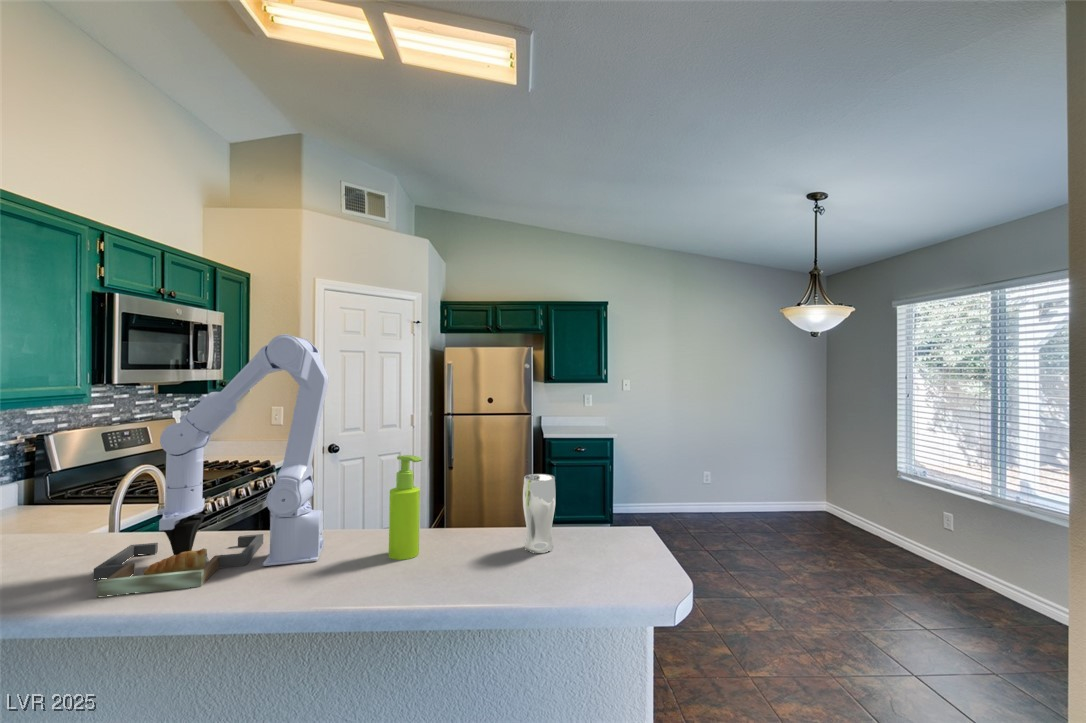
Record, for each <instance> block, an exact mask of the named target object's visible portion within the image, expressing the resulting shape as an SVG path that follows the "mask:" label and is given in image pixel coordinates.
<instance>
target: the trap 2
mask: <svg viewBox="0 0 1086 723" xmlns="http://www.w3.org/2000/svg"><path fill="white" fill-rule="evenodd" d="M263 544H264V534H263V533H261V534H260V533H259V534H247V535H239V536H238V537H237V548H241V547H243V548H244V547H246V548H245V549H244V550H243V551H242V552H239V553H229V554H220V556H219V564H218V569H219V568H221V569H222V568H230V567H241V566H246V565H247V564H248V563H249V562H250V560H252V558H253V557H254V555H255V554H256V553H257V552H258V550H259V549H260V548H261V547H262V545H263Z"/></svg>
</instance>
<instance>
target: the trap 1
mask: <svg viewBox="0 0 1086 723" xmlns="http://www.w3.org/2000/svg"><path fill="white" fill-rule="evenodd" d="M158 546H159V543H158V542H149V543H138V544H136V543H135V544H130V545H129V546H126V547H125V548H124V549H122V550H120V551H119V552H117V553H116V554H114V555H113V556H111V557H110V558H108V559H107V560H105V561H103V562H102V563H100V564H99V565H98V566H96V567H94V568H93V578H92V579H99V578H100V580H101V578H108V577H110V576H111V575H112V574H114V573H115V572H117V571H118V570H120V569H121V568H122V567H124V566H125V565H127V564H128V563H126V562H127V561H126V560H127V559H129V558H130V557H132V556H133V555H138V554H154V555H156V554H157V552H159V551H158ZM155 553H156V554H155ZM132 558H133V557H132ZM129 560H130V559H129ZM125 561H126V562H125ZM123 562H125V563H124V564H122V563H123Z"/></svg>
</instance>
